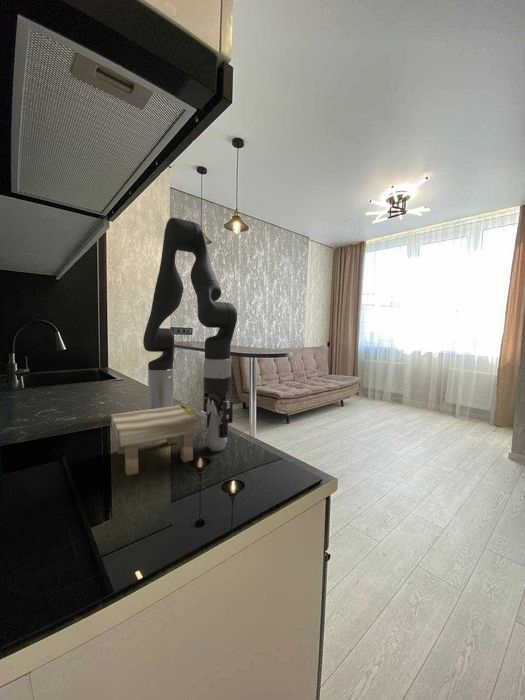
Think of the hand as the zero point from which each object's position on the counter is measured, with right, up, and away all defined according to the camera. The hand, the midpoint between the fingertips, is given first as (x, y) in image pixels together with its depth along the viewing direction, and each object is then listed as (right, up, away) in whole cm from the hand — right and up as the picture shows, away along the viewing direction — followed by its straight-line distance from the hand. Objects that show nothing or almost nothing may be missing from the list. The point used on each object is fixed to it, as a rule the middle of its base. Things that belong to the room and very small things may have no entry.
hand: (216, 432), depth 81 cm
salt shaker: (0, -5, 0) cm, 5 cm away
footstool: (-16, -5, -5) cm, 17 cm away
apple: (-14, -3, +15) cm, 21 cm away
